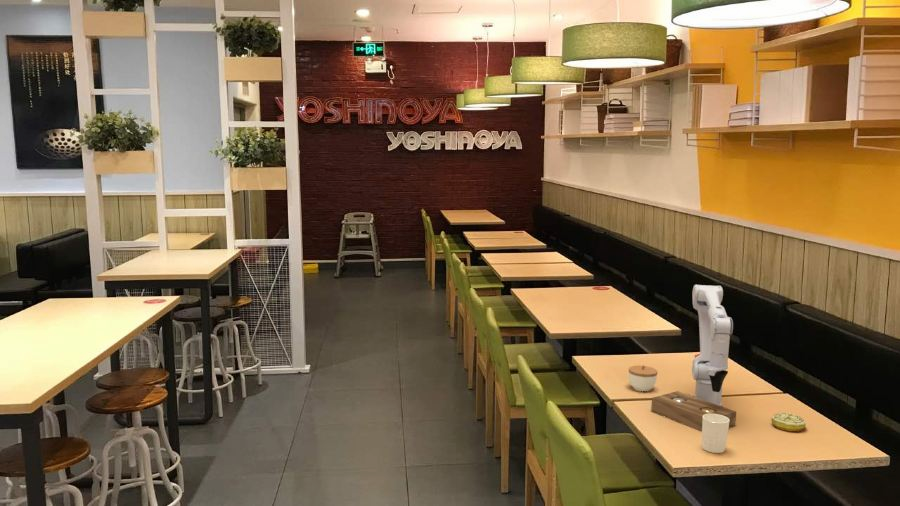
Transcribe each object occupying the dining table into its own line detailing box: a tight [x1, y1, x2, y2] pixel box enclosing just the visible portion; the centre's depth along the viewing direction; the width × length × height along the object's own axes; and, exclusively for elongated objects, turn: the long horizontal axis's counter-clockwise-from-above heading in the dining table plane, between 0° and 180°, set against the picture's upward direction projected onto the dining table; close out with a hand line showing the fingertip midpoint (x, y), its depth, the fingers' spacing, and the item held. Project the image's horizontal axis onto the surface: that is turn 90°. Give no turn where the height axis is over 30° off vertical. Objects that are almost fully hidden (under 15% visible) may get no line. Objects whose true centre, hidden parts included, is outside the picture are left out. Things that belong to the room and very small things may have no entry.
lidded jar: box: [628, 364, 659, 393], centre depth 282 cm, size 11×11×9 cm
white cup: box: [701, 414, 730, 454], centre depth 228 cm, size 8×8×10 cm
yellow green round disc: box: [770, 412, 807, 432], centre depth 248 cm, size 10×11×4 cm
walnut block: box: [650, 390, 737, 432], centre depth 253 cm, size 14×24×5 cm, turn 35°
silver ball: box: [673, 398, 685, 402], centre depth 258 cm, size 4×4×4 cm
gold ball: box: [702, 408, 714, 413], centre depth 248 cm, size 4×4×4 cm
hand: (716, 391), depth 251 cm, fingers closed
